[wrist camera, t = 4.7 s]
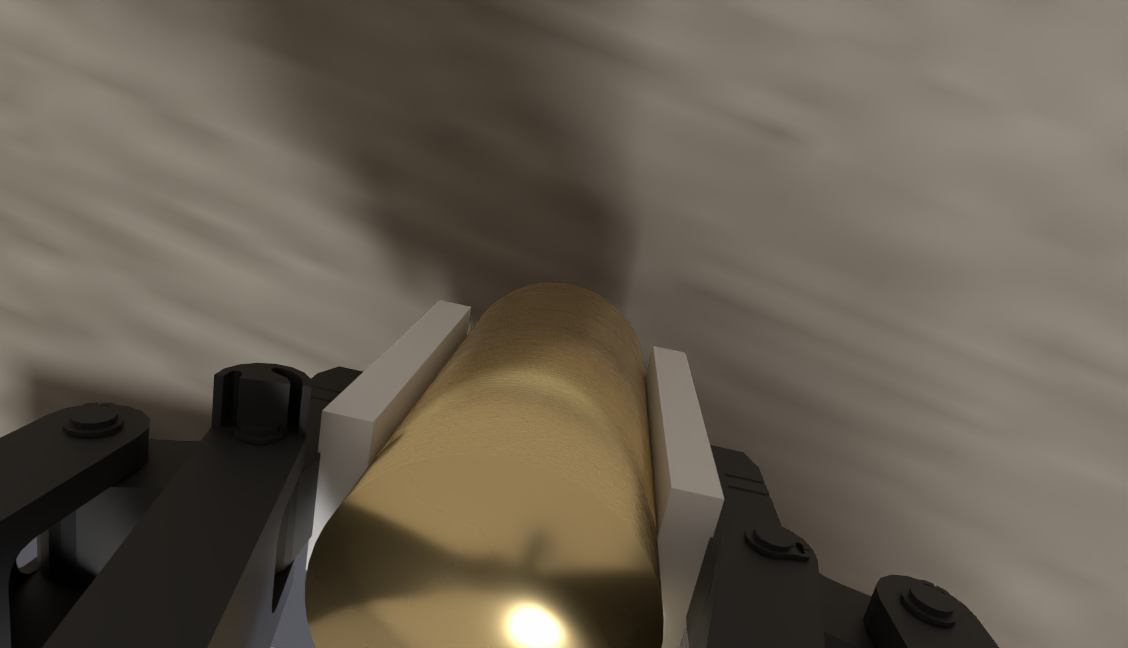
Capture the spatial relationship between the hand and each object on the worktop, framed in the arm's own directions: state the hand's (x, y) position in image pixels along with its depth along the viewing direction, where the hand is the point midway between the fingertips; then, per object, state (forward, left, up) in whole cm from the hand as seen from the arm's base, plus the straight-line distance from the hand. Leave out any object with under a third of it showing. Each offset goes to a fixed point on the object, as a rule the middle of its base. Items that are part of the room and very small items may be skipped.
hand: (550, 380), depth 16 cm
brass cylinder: (0, 0, -1) cm, 1 cm away
